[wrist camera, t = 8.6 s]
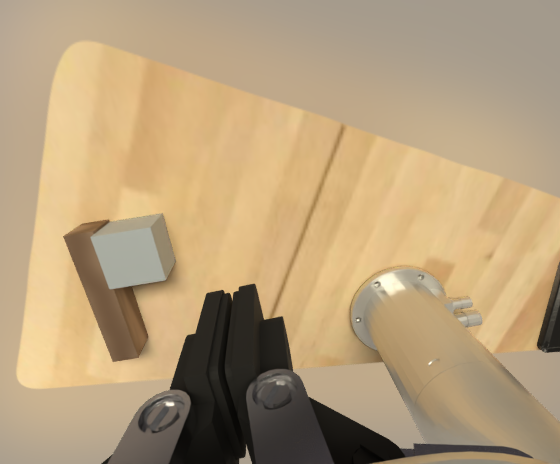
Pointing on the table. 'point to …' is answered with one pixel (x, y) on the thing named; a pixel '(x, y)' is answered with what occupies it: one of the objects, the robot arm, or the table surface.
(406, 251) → the table surface
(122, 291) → the brown wooden bar
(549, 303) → the phone
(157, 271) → the block
